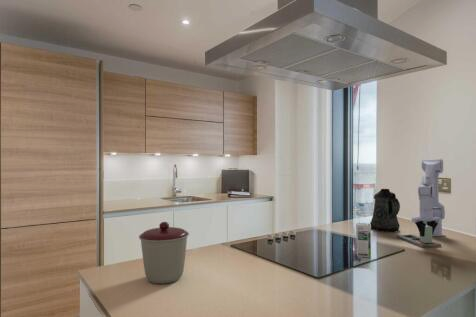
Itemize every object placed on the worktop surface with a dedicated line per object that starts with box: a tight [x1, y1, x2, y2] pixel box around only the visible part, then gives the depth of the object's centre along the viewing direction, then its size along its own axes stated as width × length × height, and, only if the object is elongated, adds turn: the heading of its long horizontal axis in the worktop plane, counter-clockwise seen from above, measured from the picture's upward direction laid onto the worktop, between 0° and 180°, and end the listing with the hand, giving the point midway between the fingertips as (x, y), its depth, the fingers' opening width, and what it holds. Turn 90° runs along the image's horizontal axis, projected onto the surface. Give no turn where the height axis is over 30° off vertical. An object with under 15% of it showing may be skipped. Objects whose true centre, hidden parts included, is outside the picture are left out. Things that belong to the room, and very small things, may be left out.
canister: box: [138, 221, 190, 285], centre depth 118 cm, size 18×18×21 cm
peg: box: [419, 225, 433, 243], centre depth 161 cm, size 4×4×8 cm
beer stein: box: [369, 188, 401, 233], centre depth 195 cm, size 16×19×25 cm
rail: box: [395, 234, 442, 249], centre depth 167 cm, size 21×10×1 cm, turn 7°
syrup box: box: [355, 222, 372, 258], centre depth 144 cm, size 6×6×14 cm
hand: (426, 236), depth 160 cm, fingers closed on peg, 4 cm apart
